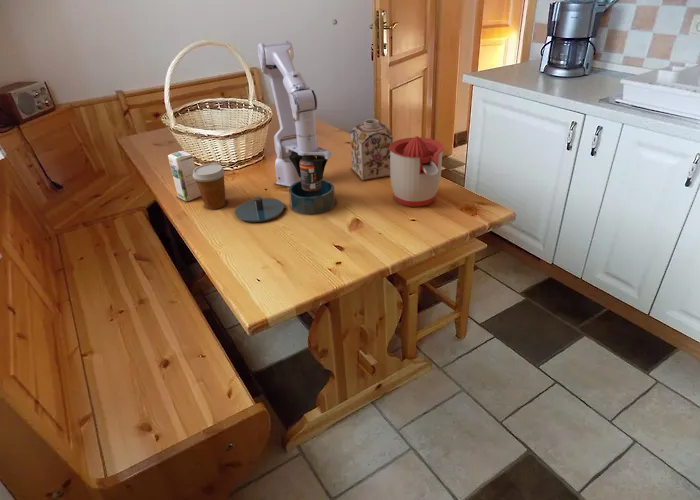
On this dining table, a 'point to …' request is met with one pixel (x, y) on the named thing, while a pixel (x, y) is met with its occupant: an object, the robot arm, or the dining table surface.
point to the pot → (312, 198)
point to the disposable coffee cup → (211, 184)
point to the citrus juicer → (415, 170)
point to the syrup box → (184, 175)
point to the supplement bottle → (309, 174)
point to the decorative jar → (371, 149)
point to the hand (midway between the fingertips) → (310, 177)
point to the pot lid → (259, 209)
